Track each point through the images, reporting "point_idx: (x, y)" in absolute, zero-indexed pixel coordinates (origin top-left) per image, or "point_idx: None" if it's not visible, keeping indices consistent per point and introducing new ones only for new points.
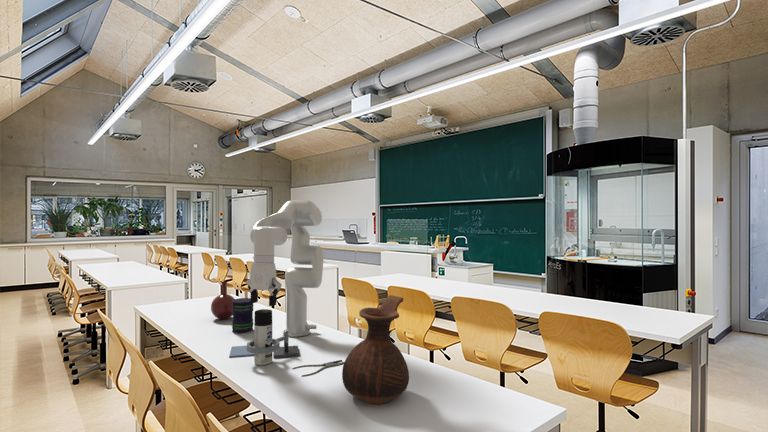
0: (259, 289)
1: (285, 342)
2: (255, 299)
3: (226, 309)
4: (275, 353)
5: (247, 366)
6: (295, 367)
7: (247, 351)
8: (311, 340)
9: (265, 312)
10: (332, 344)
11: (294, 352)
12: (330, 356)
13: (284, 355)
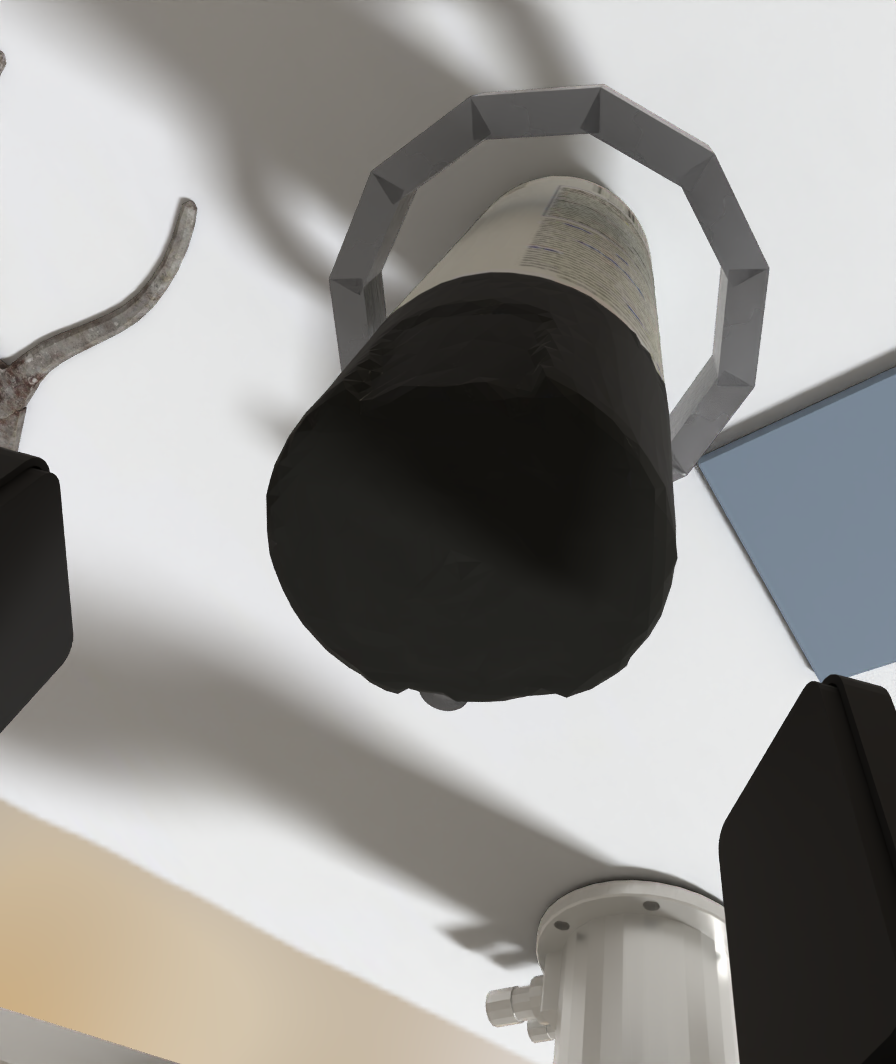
0: (76, 1051)
1: None
2: (767, 857)
3: None
4: None
5: (671, 107)
6: (176, 230)
7: (879, 488)
8: (448, 833)
9: (318, 447)
10: (255, 779)
11: None
12: (112, 562)
13: None
